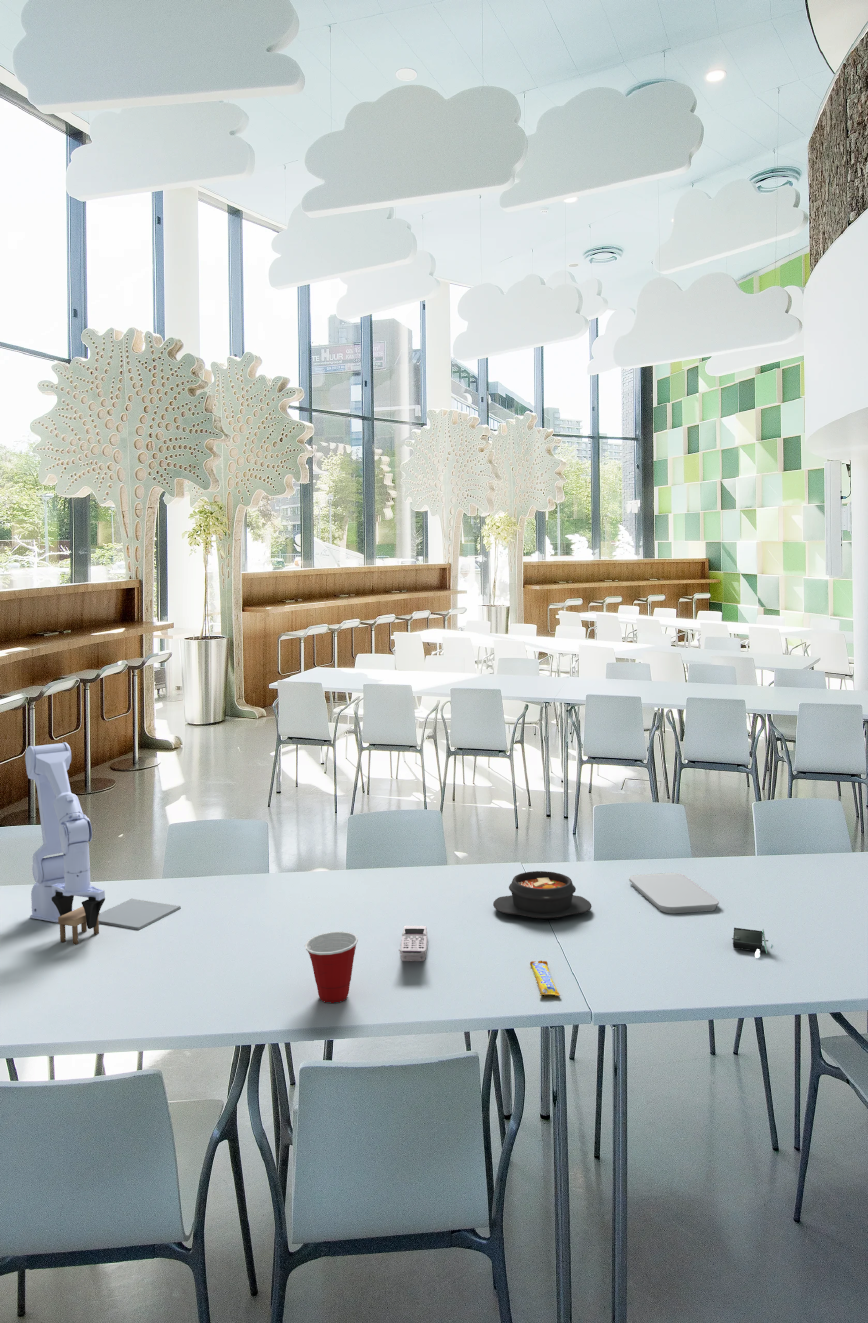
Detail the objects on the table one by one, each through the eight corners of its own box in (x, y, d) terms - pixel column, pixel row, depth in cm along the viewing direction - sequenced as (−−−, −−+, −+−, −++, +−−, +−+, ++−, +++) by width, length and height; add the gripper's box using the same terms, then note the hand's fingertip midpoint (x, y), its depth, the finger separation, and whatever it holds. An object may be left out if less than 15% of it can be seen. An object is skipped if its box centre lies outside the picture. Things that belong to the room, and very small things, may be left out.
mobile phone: (398, 950, 197) (402, 908, 222) (398, 977, 197) (402, 932, 222) (426, 950, 197) (428, 908, 222) (426, 977, 197) (427, 932, 222)
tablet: (680, 880, 260) (680, 872, 260) (723, 912, 235) (723, 903, 235) (625, 883, 258) (625, 875, 258) (662, 916, 232) (662, 907, 232)
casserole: (496, 926, 226) (496, 892, 225) (490, 900, 244) (490, 869, 244) (597, 924, 226) (598, 891, 226) (584, 898, 245) (584, 867, 244)
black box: (710, 956, 207) (710, 932, 207) (715, 932, 221) (716, 910, 221) (781, 966, 202) (782, 941, 201) (782, 941, 216) (783, 918, 215)
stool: (59, 942, 218) (58, 917, 217) (84, 930, 225) (83, 906, 225) (75, 945, 216) (74, 920, 216) (100, 933, 223) (99, 908, 223)
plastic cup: (307, 987, 192) (305, 931, 191) (359, 984, 193) (358, 929, 192) (304, 1011, 182) (302, 951, 181) (359, 1008, 183) (358, 949, 182)
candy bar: (528, 967, 202) (528, 959, 202) (547, 967, 203) (547, 958, 202) (540, 1002, 186) (540, 993, 185) (560, 1001, 186) (560, 992, 186)
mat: (87, 921, 231) (87, 918, 231) (131, 900, 246) (131, 898, 246) (138, 930, 225) (138, 927, 225) (180, 908, 240) (180, 906, 240)
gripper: (40, 871, 218) (43, 927, 220) (88, 878, 213) (90, 935, 214) (63, 863, 225) (65, 917, 226) (110, 869, 219) (112, 925, 220)
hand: (79, 925), depth 220 cm, fingers open, 7 cm apart
